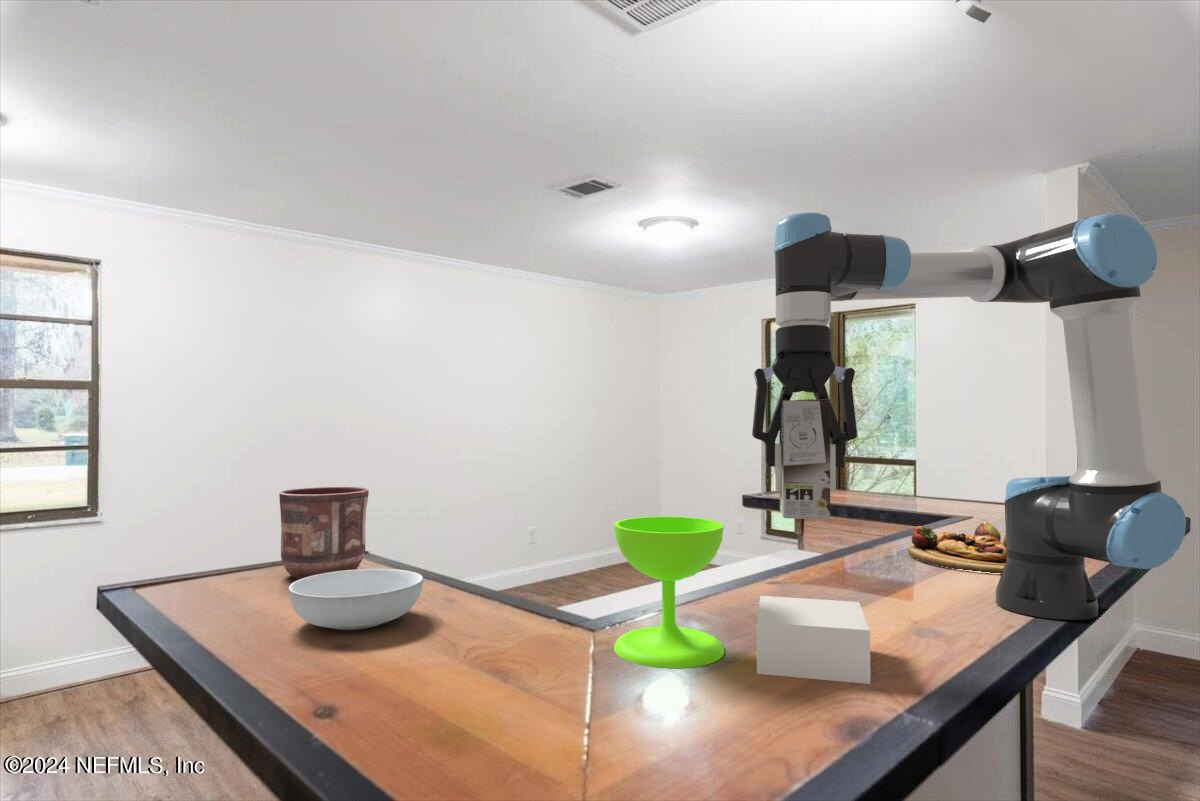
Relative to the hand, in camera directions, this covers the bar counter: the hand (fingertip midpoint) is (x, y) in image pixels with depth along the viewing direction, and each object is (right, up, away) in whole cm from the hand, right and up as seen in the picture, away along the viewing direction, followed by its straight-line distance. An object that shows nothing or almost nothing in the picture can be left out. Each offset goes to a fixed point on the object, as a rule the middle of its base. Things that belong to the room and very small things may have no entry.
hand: (803, 490), depth 98 cm
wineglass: (-19, -24, +4) cm, 30 cm away
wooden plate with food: (+61, -26, +66) cm, 93 cm away
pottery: (-87, -25, +51) cm, 104 cm away
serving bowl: (-68, -24, +17) cm, 74 cm away
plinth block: (+1, -24, -1) cm, 24 cm away
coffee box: (0, -4, 0) cm, 4 cm away
